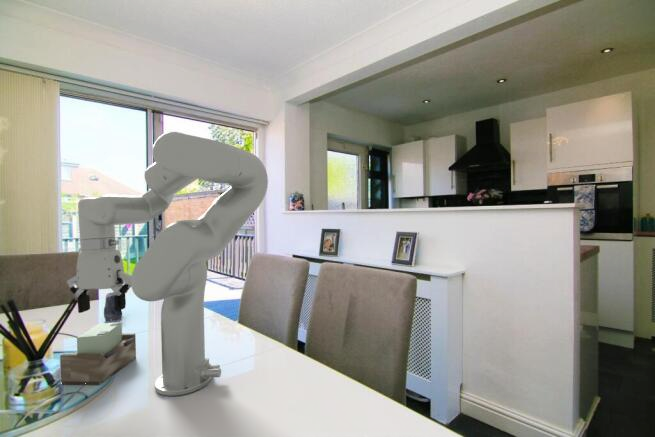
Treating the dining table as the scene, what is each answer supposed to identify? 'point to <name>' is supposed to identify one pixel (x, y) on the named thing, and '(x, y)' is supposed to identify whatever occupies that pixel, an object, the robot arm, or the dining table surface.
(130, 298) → the dining table surface
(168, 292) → the robot arm
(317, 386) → the dining table surface
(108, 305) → the rock
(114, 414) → the dining table surface
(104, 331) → the grey-green block
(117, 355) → the brown wooden box
